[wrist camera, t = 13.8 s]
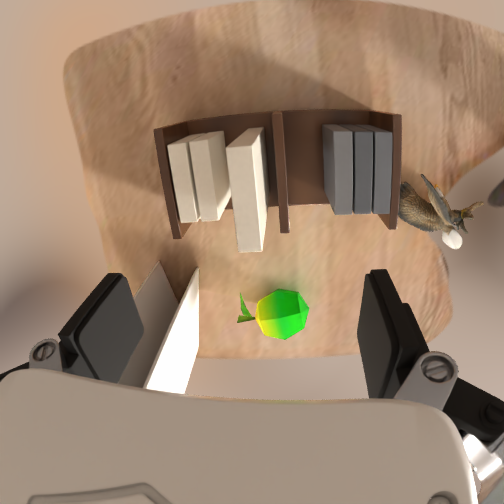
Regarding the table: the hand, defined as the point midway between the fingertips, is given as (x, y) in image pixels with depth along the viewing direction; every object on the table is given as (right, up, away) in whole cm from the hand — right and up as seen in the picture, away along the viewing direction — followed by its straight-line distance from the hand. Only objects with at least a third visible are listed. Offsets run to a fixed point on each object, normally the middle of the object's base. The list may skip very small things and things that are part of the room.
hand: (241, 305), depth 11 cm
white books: (-4, +11, +20) cm, 23 cm away
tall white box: (-10, -6, +30) cm, 32 cm away
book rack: (+3, +12, +19) cm, 23 cm away
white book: (+1, +11, +19) cm, 22 cm away
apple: (+3, -4, +28) cm, 29 cm away
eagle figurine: (+21, +8, +20) cm, 30 cm away
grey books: (+10, +11, +18) cm, 23 cm away
